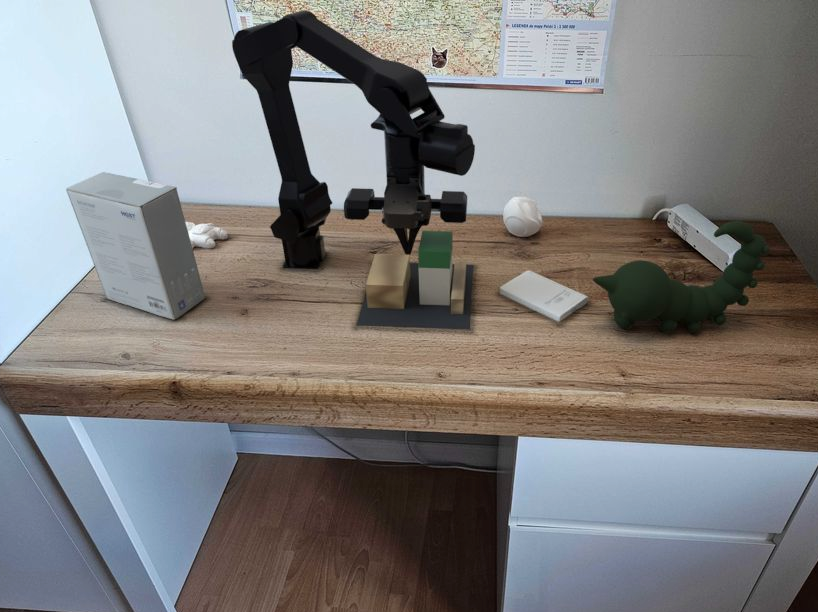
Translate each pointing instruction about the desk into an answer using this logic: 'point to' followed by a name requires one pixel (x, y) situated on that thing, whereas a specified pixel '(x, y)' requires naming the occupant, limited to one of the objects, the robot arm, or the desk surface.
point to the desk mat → (420, 309)
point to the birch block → (388, 281)
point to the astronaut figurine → (204, 234)
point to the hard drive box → (138, 243)
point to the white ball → (522, 217)
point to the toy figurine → (684, 287)
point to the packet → (435, 267)
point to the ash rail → (458, 287)
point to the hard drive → (543, 295)
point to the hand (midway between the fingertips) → (408, 253)
